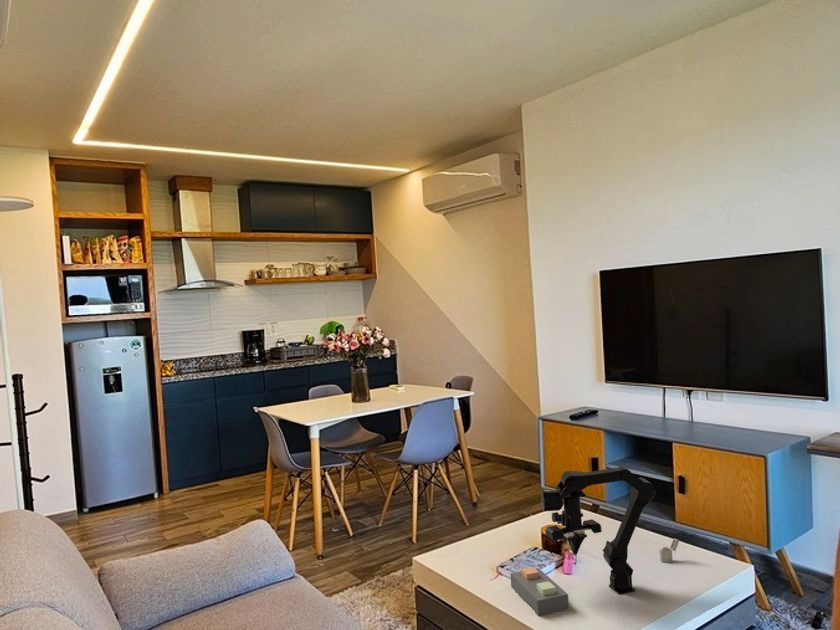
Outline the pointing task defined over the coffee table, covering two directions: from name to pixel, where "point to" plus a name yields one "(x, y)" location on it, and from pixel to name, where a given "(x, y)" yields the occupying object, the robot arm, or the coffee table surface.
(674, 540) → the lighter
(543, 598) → the keypad
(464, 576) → the coffee table surface
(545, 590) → the sage key
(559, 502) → the robot arm
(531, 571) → the terracotta key
